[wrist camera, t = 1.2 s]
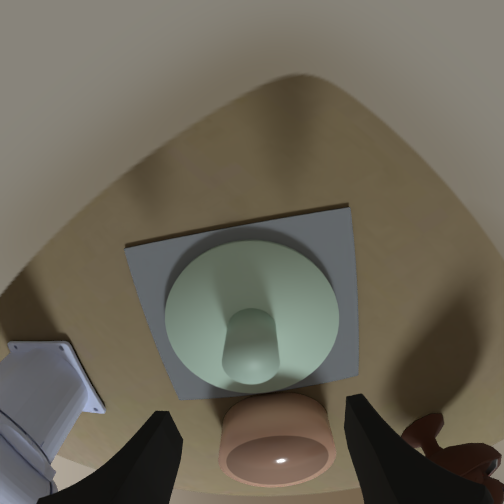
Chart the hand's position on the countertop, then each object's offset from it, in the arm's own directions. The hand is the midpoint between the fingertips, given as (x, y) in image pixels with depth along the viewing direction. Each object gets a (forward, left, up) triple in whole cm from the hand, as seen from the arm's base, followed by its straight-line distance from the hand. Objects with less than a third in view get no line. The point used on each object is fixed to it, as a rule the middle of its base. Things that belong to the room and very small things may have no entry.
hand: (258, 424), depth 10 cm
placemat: (0, 0, -9) cm, 9 cm away
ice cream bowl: (+15, -18, -9) cm, 25 cm away
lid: (0, 0, -9) cm, 9 cm away
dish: (0, -11, -9) cm, 14 cm away
